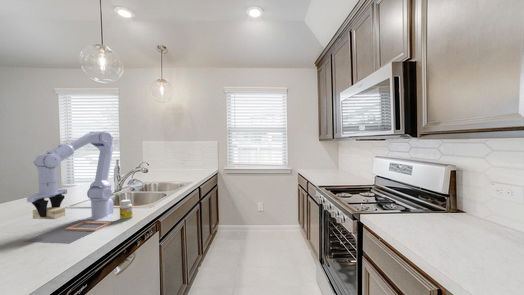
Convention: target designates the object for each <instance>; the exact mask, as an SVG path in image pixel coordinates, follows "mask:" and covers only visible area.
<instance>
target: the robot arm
mask: <svg viewBox="0 0 524 295" xmlns="http://www.w3.org/2000/svg"><path fill="white" fill-rule="evenodd" d="M112 135H113V134H111V133H110V132H109V131H90V132H88V133H85V134H84V135H82V136H81V137H79V138H78V139H76V140H74V141H72V142H71V143H69V144H66V143H64V144H62V143H60V144H58V145H57V147H56V148H53V149H51V150H47V151H46V153H41V154H38V155H37V156H36V157H35V160H34V161H33V164H34V166H35V167H36V168H37V176H38V177H37V181H38V193H37V194H35V195H34V194H33V195H30V196H27V197H26V202H27V203H31V204H32V205H33V206H34V207H35V209H37V211H38V213H39V215H40V217H46V214H47V207H48V204H49V201H50V205H51V206H50V207H61V205H62V202H63V201H64V199H65V195H67V194H68V189H67V188H66V189H59V190H58V168H57V167H59V166H60V164H61V162H63V161H65V160H66V159H68V158H70V157H71V156H73V155H74V153H75V151H77V150H78V149H81V148H82V147H84V146H87V145H89V144H90V145H92V146H94V147H96V148H97V149H98V150H99V155H98V161H97V166H96V170H95V171H96V172H95V173H96V174H95V177H94V181H93V182H92V183H91V184H90V185H89V189H88V190H87V192H86V196H87V197H88V199H89V201H90V205H91V209H90V210H91V216H90V217H87V218H86V219H87V220H103V219H105V218H108V217H111V216H113V215H115V214H116V213H115V211H114V210H115V209H114V200H113V199H112V198H111V196H112V194H113V192H112V185H111V184H110V182H109V175H110V169H111V162H112V159H113V158H112V156H113V152H114V151H113V150H114V146H113V139H114V137H113V136H112ZM47 199H49V200H47Z"/></svg>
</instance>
